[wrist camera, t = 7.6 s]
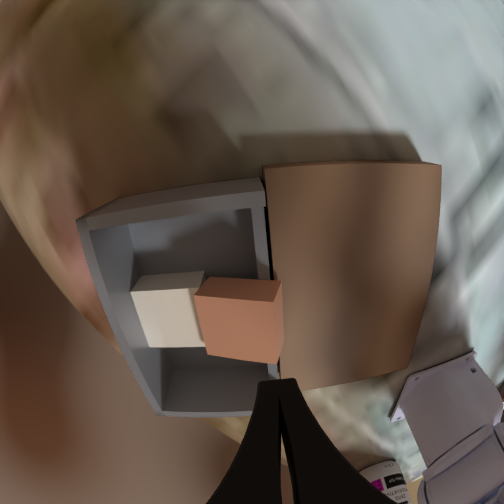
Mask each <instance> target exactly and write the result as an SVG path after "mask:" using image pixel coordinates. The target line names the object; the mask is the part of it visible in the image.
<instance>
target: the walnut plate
mask: <svg viewBox="0 0 504 504" xmlns="http://www.w3.org/2000/svg"><path fill="white" fill-rule="evenodd" d="M262 171H263V181H264V191H265V200H266V213H267V223H268V234H269V246H270V257H271V269H272V280H278V281H282V298H283V324H284V342H283V346H282V349H281V352H280V356H279V359H278V362H279V376H280V379H286V378H295V379H296V380H297V383H298V386H299V388H300V391H303V390H310V389H316V388H322V387H328V386H334V385H339V384H344V383H349V382H354V381H358V380H363V379H367V378H371V377H375V376H379V375H383V374H387V373H391V372H394V371H398V370H401V369H405V368H407V366H408V363H409V360H410V357H411V354H412V351H413V348H414V345H415V342H416V338H417V335H418V331H419V328H420V324H421V320H422V316H423V312H424V308H425V304H426V300H427V295H428V291H429V286H430V281H431V275H432V270H433V264H434V258H435V251H436V244H437V236H438V226H439V216H440V202H441V176H442V165H438V164H434V163H429V162H423V161H396V160H352V161H321V162H303V163H288V164H275V165H264V166H262Z"/></svg>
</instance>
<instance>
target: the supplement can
mask: <svg viewBox="0 0 504 504" xmlns="http://www.w3.org/2000/svg"><path fill="white" fill-rule="evenodd" d="M359 473H360V474H361V475H362V476H363V477H364V478H366V479H367V480H368V481H369V482H370V483H371V484H372V485H374V486H375V487H376V488H377V489H378V490H380V491H381V492H382V493H384V494H385V495H386V496H388V497H389V498H391V499H392V500H394V501H395V502H397V503H398V504H412V501H411V498H410V495H409V492H408V489H407V486H406V483H405V480H404V477H403V474H402V472H401V469H400V466H399V464H398V462H394V461H385V462H381V463H378V464H375V465H373V466H370V467H368V468H366V469H364V470H362V471H360V472H359Z"/></svg>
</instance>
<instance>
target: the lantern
mask: <svg viewBox="0 0 504 504" xmlns="http://www.w3.org/2000/svg"><path fill="white" fill-rule="evenodd" d="M499 393H500V395H501V398H502V402H504V383H503V385H502V386H501V388H500V389H499ZM500 422H501V423H502V422H504V410H503V413H502V417H501V421H500Z"/></svg>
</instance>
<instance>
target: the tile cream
mask: <svg viewBox="0 0 504 504" xmlns="http://www.w3.org/2000/svg"><path fill="white" fill-rule="evenodd" d="M205 281H206V276H205V271H194V272H182V273H169V274H156V275H143V276H141V277H140V279H139V280H138V281H137V283H136V284H135V286H134V287H133V289H132V290H131V291H130V293H131V296H132V299H133V302H134V305H135V308H136V311H137V314H138V317H139V320H140V323H141V326H142V328H143V331H144V334H145V336H146V339H147V342H148V344H149V347H206V346H205V342H204V338H203V334H202V330H201V326H200V322H199V318H198V313H197V309H196V305H195V300H194V296H193V295H194V294H195V293H196V292H197V290H198V289H199V288H200V287H201V286H202V285H203V283H204V282H205Z"/></svg>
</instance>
